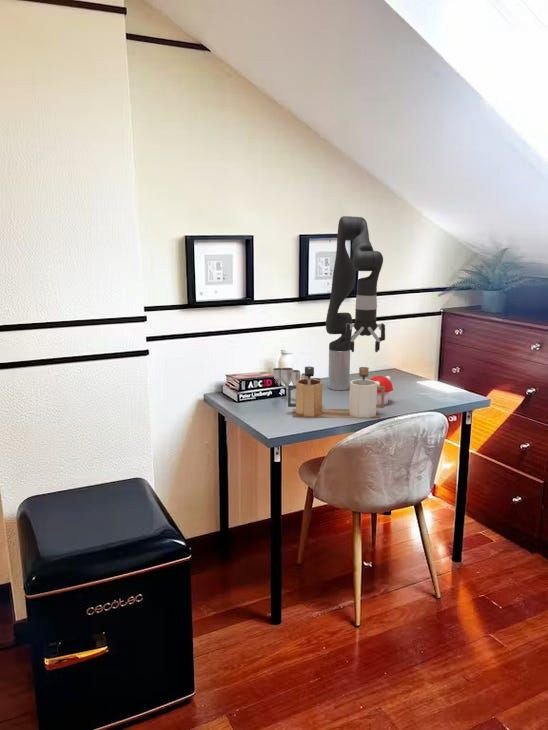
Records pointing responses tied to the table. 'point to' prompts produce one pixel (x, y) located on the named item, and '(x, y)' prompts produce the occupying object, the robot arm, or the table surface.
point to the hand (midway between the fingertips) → (364, 351)
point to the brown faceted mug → (307, 397)
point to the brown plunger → (363, 373)
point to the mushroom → (386, 383)
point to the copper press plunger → (309, 373)
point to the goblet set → (288, 376)
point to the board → (333, 414)
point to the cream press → (364, 398)
